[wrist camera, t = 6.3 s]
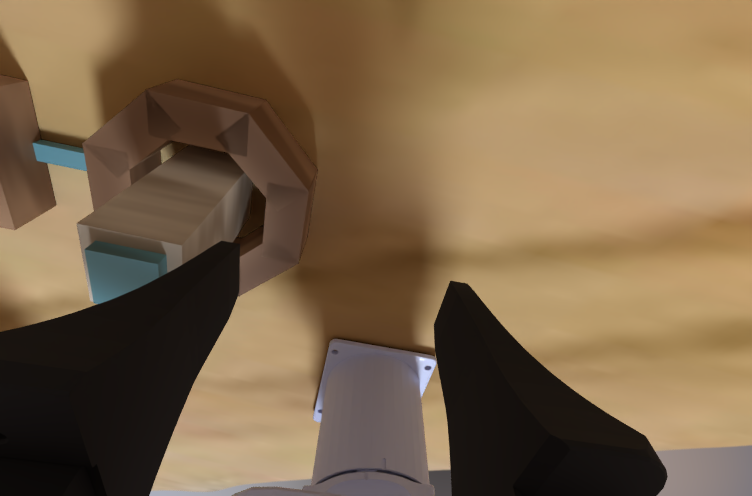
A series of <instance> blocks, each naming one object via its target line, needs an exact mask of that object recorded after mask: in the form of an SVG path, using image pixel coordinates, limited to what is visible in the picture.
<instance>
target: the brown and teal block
mask: <svg viewBox="0 0 752 496" xmlns="http://www.w3.org/2000/svg"><path fill="white" fill-rule="evenodd" d="M252 186H253V182H252V181H251V179H250V178H249V177H248V176H247V175H246V174H245V172H244V171H243V170H242V169H241V168H240V166H239V165H238V164H237V163H236V162H235V160H234V159H233V158H232V157H231V156H230V155H229V154H225V153H221V152H217V151H213V150H208V149H204V148H200V147H196V146H192V145H189V146H187V147H186V148H184V149H183V150H181V151H180V152H178V153H177V154H176V155H174V156H173V157H171V158H170V159H168V160H167V161H166V162H164V163H163V164H161V165H160V166H158V167H157V168H155V169H154V170H153V171H151V172H150V173H148V174H147V175H145V176H144V177H143V178H141V179H140V180H138V181H137V182H135V183H134V184H132V185H131V186H130V187H128V188H127V189H125V190H124V191H122V192H121V193H120V194H118V195H117V196H115V197H114V198H112V199H111V200H109V201H108V202H107V203H105V204H104V205H102V206H101V207H99V208H98V209H97V210H95V211H94V212H92V213H91V214H89V215H88V216H86V217H85V218H84V219H82V220H81V221H79V222H78V223H77V229H78V234H79V240H80V245H81V251H82V257H83V262H84V268H85V273H86V279H87V284H88V290H89V295H90V301H93V302H94V303H96V304H100V303H103V302H106V301H109V300H111V299H114V298H116V297H119V296H121V295H123V294H126V293H128V292H130V291H133V290H135V289H137V288H139V287H141V286H143V285H145V284H148V283H150V282H151V281H153V280H155V279H157V278H159V277H161V276H163V275H164V274H166V273H168V272H170V271H172V270H174V269H176V268H177V267H179V266H181V265H182V264H184V263H186V262H187V261H189V260H191V259H192V258H194V257H196V256H197V255H199V254H200V253H202V252H204V251H205V250H207V249H208V248H210V247H212V246H213V245H215V244H216V243H218V242H220V241H227V242H232V243H233V241H234V240H235V238H236V236H237V235H238V233H239V232H240V230H241V229H242V227H243V226H244V224H245V223H246V221H247V220H248V218H249V216H250V209H251V197H252Z"/></svg>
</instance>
